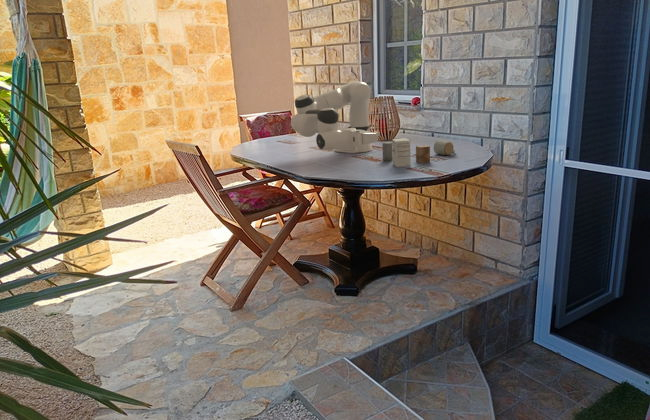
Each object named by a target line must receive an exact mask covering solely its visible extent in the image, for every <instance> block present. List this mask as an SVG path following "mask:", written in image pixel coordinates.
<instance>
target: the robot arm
mask: <svg viewBox="0 0 650 420" xmlns="http://www.w3.org/2000/svg"><path fill="white" fill-rule="evenodd" d="M371 94H372V90H371V87H370V86H369V85H368V84H367V83H366V82H364V81H357V80H355V81H350V82H348V83H346V84H344V85H342V86H339V87H337V88H334V89H332V90H329V91H327V92H324V93H322V94H319V95H317V96H314V97H313V96H312V95H310V94H301V95H300V96H298V97H297V98H296V99H295V101H294V106H295V108H296V113H297V114H294V115H293V116H292V117H291V119H290V126H291V128H292V129H293V130H294V131H295V132H296V133H297V134H299V135H300V136H303V137H306V138H309V137H311V138H312V137H313V136H315V135H316V134H317V133H318V134H317V135H316V138H315V140H316V145H317V147H318V148H319V149H320V150H322V151H323V150H325V151H329V150H334V152H336V153H337V152H338V153H349V154H355V153H356V154H358V153H365V152H366V153H367V152H371V151H374V150H373V146H372V144H373V143H377V142H378V140H379V137H380V135H381V133H380V132H379V131H371V126H370V117H369V116H370V115H369V114H370V113H369V111H370V100H371V96H372V95H371ZM348 105H349V112H348V114H349V115H348V117H349V118H348V119H349V126H347V127H346V128H342V129H340V130H339V117H340V116H339V115H340V113H339V112H338V110H341V109H343V108H344V107H346V106H348Z"/></svg>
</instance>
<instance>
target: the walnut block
mask: <svg viewBox="0 0 650 420" xmlns="http://www.w3.org/2000/svg"><path fill="white" fill-rule="evenodd" d="M415 162H416V163H418V164H427V163H428V164H429V163H431V146H430V145H427V144H422V145H416V146H415Z"/></svg>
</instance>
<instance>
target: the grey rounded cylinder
mask: <svg viewBox="0 0 650 420" xmlns="http://www.w3.org/2000/svg"><path fill="white" fill-rule="evenodd" d="M382 161H383V162H393V145H392V142H390V141H387V142H382Z"/></svg>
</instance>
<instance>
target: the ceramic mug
mask: <svg viewBox="0 0 650 420" xmlns="http://www.w3.org/2000/svg"><path fill="white" fill-rule="evenodd" d="M433 152H434V153H435V154H437V155H443V156H450V155H451V154H455V152H456V150H455V149H454V144H453V143H452V142H451V141H448V140H444V139H437V140H436V141H435V142H434V144H433Z"/></svg>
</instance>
